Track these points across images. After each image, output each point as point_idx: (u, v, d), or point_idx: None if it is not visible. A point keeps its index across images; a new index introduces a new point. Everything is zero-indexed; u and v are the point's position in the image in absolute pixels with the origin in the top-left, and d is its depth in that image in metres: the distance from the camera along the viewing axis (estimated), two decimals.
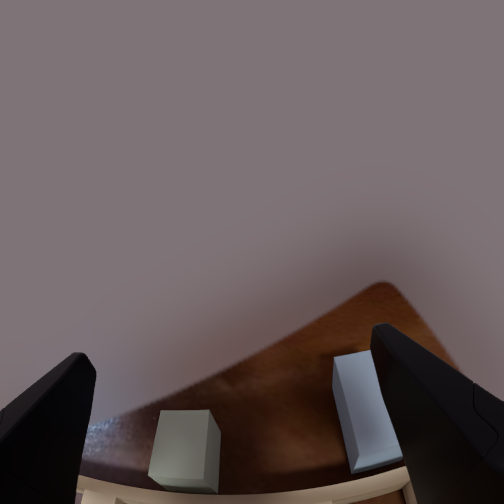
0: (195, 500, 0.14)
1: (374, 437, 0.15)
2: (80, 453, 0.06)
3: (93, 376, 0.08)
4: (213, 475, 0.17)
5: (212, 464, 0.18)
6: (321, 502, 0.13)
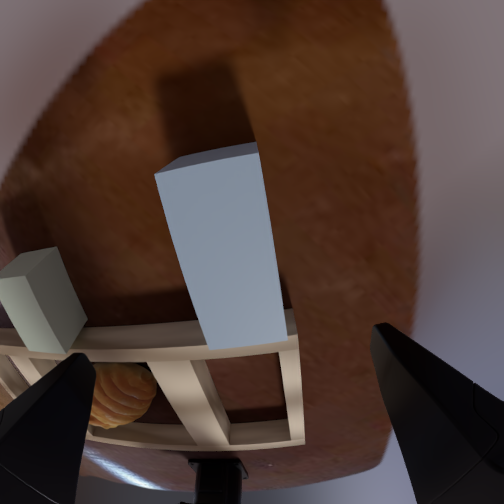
0: None
1: (228, 333, 0.14)
2: (80, 453, 0.06)
3: (93, 376, 0.08)
4: (73, 318, 0.18)
5: (65, 313, 0.17)
6: (179, 360, 0.18)
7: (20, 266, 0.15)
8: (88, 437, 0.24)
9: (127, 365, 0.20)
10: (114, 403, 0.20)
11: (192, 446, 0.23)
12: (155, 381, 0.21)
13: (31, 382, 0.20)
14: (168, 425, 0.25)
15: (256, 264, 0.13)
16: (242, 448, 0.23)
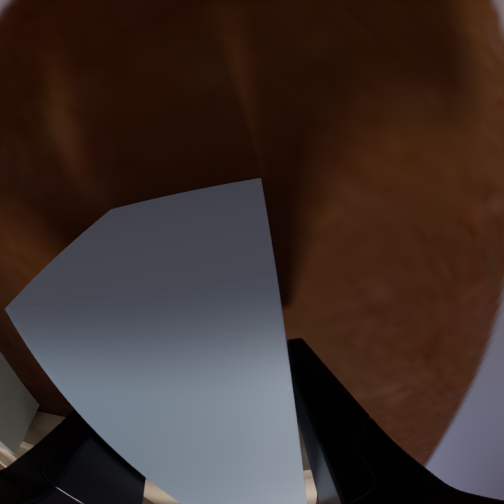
0: (29, 446, 0.10)
1: None
2: None
3: None
4: (19, 410, 0.10)
5: (7, 407, 0.10)
6: None
7: None
8: None
9: None
10: None
11: None
12: None
13: None
14: None
15: (260, 464, 0.05)
16: None
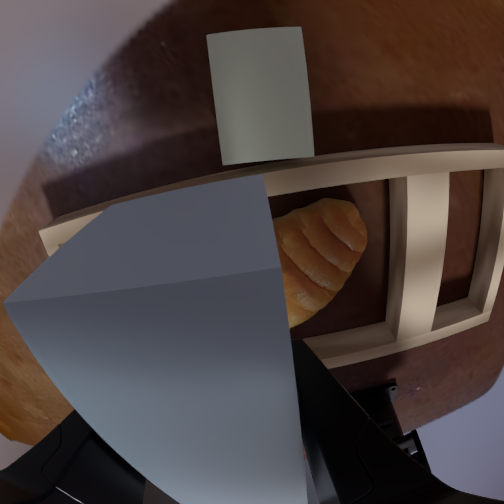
0: (300, 178, 0.14)
1: None
2: None
3: None
4: None
5: None
6: (440, 172, 0.14)
7: None
8: None
9: (339, 200, 0.16)
10: (320, 262, 0.16)
11: (389, 345, 0.19)
12: None
13: None
14: (346, 331, 0.22)
15: (262, 463, 0.05)
16: (438, 336, 0.19)
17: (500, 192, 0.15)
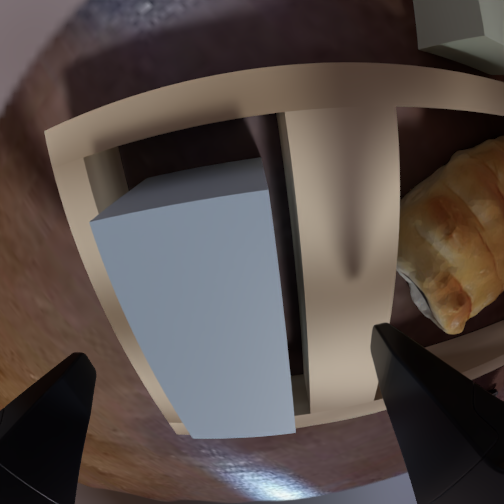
0: None
1: (217, 426, 0.09)
2: (80, 453, 0.06)
3: (93, 376, 0.08)
4: None
5: None
6: None
7: None
8: (351, 412, 0.12)
9: None
10: None
11: None
12: None
13: (317, 238, 0.08)
14: (487, 328, 0.13)
15: (257, 359, 0.08)
16: None
17: None
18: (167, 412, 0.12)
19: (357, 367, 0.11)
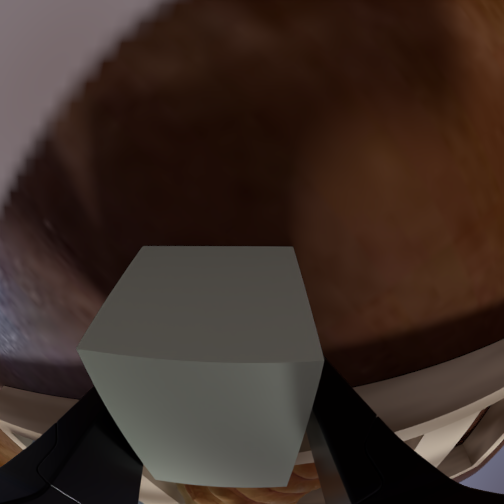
0: None
1: None
2: (142, 465, 0.06)
3: None
4: None
5: None
6: (469, 415, 0.08)
7: (212, 305, 0.05)
8: None
9: None
10: (282, 495, 0.10)
11: None
12: None
13: None
14: None
15: None
16: None
17: None
18: None
19: None
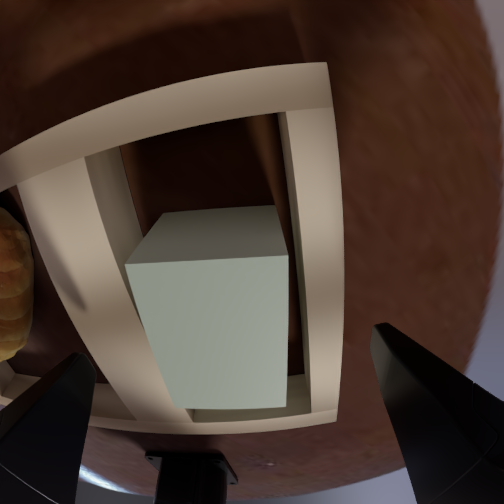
0: None
1: None
2: (80, 453, 0.06)
3: (93, 376, 0.08)
4: None
5: None
6: (66, 163, 0.07)
7: (216, 235, 0.08)
8: None
9: None
10: None
11: (128, 421, 0.13)
12: (22, 239, 0.10)
13: None
14: (99, 385, 0.15)
15: None
16: (218, 430, 0.13)
17: (292, 180, 0.08)
18: None
19: None
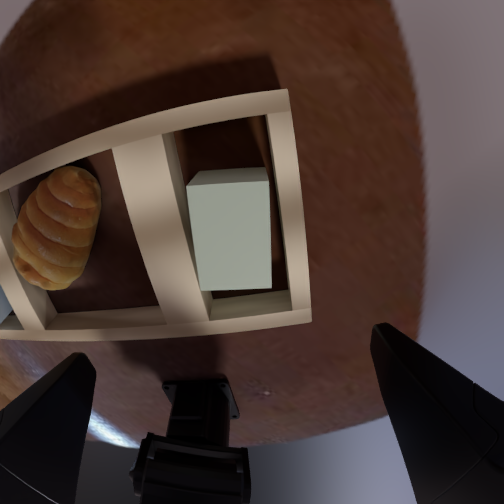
0: (35, 165, 0.14)
1: None
2: (80, 453, 0.06)
3: (93, 376, 0.08)
4: None
5: None
6: (149, 137, 0.14)
7: (232, 176, 0.15)
8: (41, 335, 0.21)
9: None
10: (46, 220, 0.16)
11: (160, 327, 0.20)
12: (97, 189, 0.17)
13: None
14: (135, 308, 0.22)
15: None
16: (226, 328, 0.20)
17: (272, 148, 0.15)
18: None
19: (22, 303, 0.19)
